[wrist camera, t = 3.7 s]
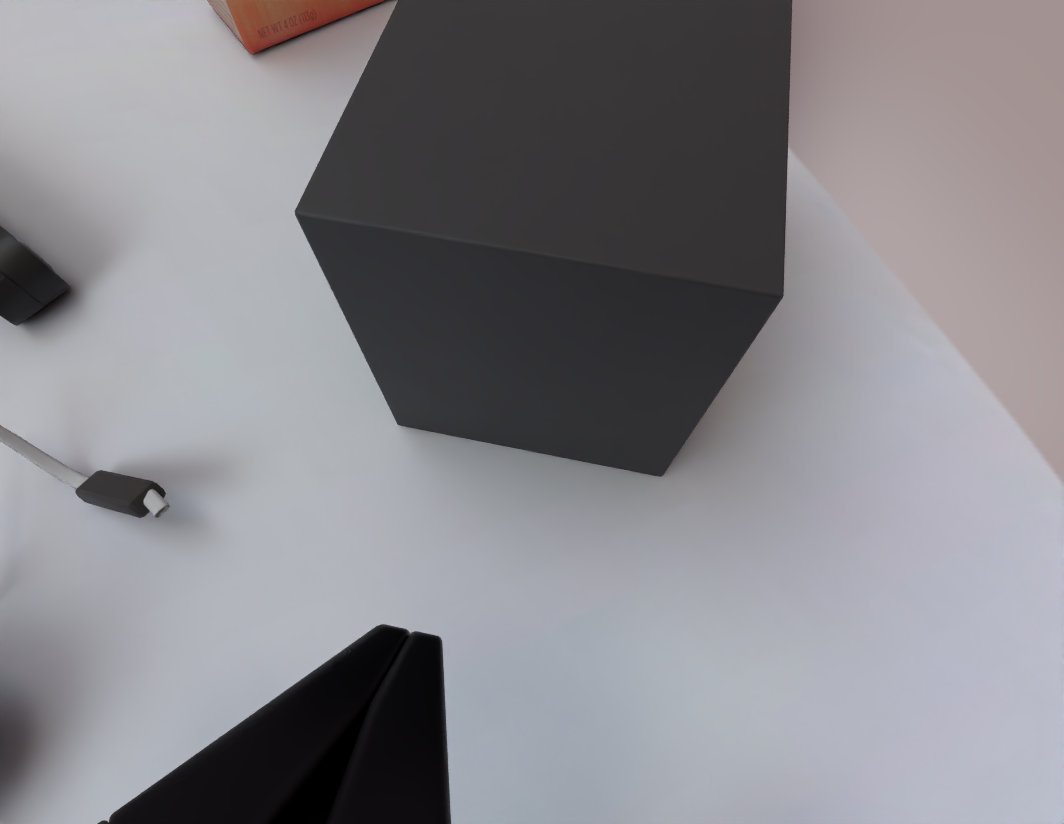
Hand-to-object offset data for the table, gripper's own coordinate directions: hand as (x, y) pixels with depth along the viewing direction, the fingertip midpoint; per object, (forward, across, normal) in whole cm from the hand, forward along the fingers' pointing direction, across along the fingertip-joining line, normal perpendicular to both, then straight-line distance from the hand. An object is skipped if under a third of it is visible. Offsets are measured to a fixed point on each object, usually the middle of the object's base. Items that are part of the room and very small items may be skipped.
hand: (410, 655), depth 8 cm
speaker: (+19, 0, -3) cm, 20 cm away
